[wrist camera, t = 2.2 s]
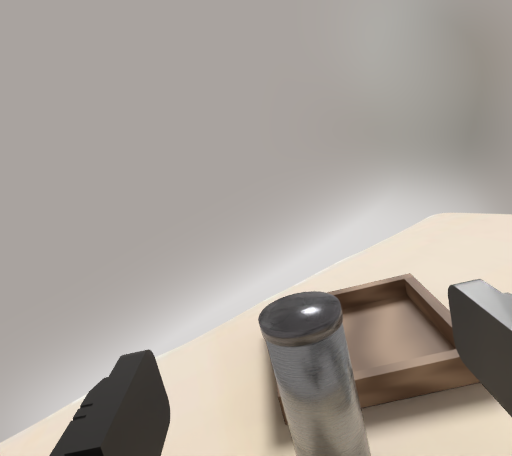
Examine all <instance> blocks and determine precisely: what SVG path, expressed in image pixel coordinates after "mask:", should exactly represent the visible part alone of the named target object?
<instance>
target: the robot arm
mask: <svg viewBox="0 0 512 456" xmlns="http://www.w3.org/2000/svg"><path fill="white" fill-rule="evenodd" d="M448 299H449V307H450V314H451V322H452V330H453V337H454V343H455V346H456V349H457V352H458V354H459V356H460V358H461V360H462V362H463V363H464V364H465V366H466V367H467V368H468V369H469V370H470V371H471V372H472V373H473V374H474V376H475V377H476V378H477V379H478V380H479V381H480V382H481V383H482V385H483V386H484V387H485V388H486V389H487V390H488V391H489V392H490V393H491V395H492V396H493V397H494V398H495V399H496V400H497V401H498V402H499V403H500V405H501V406H502V407H503V408H504V409H505V410H506V411H507V412H508V414H509V415H510V416H511V417H512V294H511V293H501V292H500V291H498V290H497V289H495V288H494V287H492V286H491V285H489V284H488V283H486V282H485V281H483V280H481V279H477V280H472V281H468V282H463V283H458V284H454V285H450V286H449V288H448ZM169 423H170V406H169V401H168V397H167V394H166V391H165V388H164V385H163V381H162V378H161V375H160V372H159V369H158V366H157V363H156V360H155V357H154V355H153V353H152V351H150V350H145V351H140V352H135V353H131V354H126V355H122V356H121V357H120V358H119V360H118V361H117V363H116V365H115V367H114V368H113V370H112V372H111V374H110V375H109V377H106V378H104V379H102V380H101V381H100V382H99V383H98V384H97V385H96V386H95V387H94V388H93V389H92V390H90V391H89V393H88V394H87V396H86V397H85V399H84V401H83V402H82V404H81V406H80V409H78V410H77V412H76V414H75V415H74V417H73V421H71V422H70V423H69V425H68V427H67V428H66V430H65V431H64V433H63V435H62V436H61V438H60V440H59V441H58V443H57V444H56V446H55V448H54V449H53V451H52V452H51V454H50V456H161V452H162V449H163V445H164V442H165V438H166V435H167V431H168V427H169Z"/></svg>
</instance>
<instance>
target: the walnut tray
mask: <svg viewBox="0 0 512 456" xmlns="http://www.w3.org/2000/svg"><path fill="white" fill-rule="evenodd" d="M328 293H329V294H331V295H334V296H335V297H337V298H338V300H339V301H340V304H341V309H342V314H343V322H342V323H343V327H344V332H345V337H346V341H347V346H348V351H349V355H350V360H351V365H352V369H353V374H354V379H355V383H356V388H357V393H358V397H359V402H360V407H361V408H364V407H368V406H373V405H378V404H382V403H387V402H391V401H396V400H401V399H405V398H410V397H414V396H419V395H424V394H428V393H433V392H437V391H442V390H447V389H451V388H456V387H460V386H465V385H470V384H474V383H479V382H480V381H479V380H478V379H477V378H476V377H475V376H474V374H473V373H472V372H471V371H470V370H469V369H468V368H467V367H466V366H465V364H464V363H463V362H462V360H461V358H460V356H459V354H458V352H457V349H456V346H455V343H454V337H453V330H452V322H451V314H450V311H449V310H448V309H447V308H446V307H445V306H444V305H443V304H442V303H441V302H440V301H438V300H437V299H436V298H435V297H434V296H433V295H432V294H431V293H430V292H429V291H428V290H427V289H426V288H425V287H424V286H423V285H422V284H421V283H420V282H419V281H417V280H416V279H415V278H414V277H413V276H412V275H411V274H405V275H401V276H397V277H392V278H388V279H384V280H379V281H375V282H371V283H366V284H362V285H358V286H354V287H349V288H345V289H341V290H336V291H332V292H328ZM277 390H278V398H279V402H280V406H281V409H282V413H283V417H284V421H285V424H288V422H287V418H286V415H285V411H284V407H283V403H282V400H281V396H280V392H279V388H278V385H277Z"/></svg>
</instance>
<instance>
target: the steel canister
mask: <svg viewBox="0 0 512 456" xmlns="http://www.w3.org/2000/svg"><path fill="white" fill-rule="evenodd" d="M258 320H259V324H260V328H261V332H262V335H263V337H264V339H265V340H266V344H267V347H268V351H269V355H270V358H271V362H272V366H273V370H274V373H275V377H276V381H277V385H278V388H279V392H280V396H281V400H282V403H283V407H284V411H285V415H286V418H287V422H288V426H289V429H290V433H291V437H292V441H293V444H294V448H295V452H296V456H371V453H370V449H369V444H368V439H367V435H366V430H365V425H364V421H363V416H362V411H361V407H360V402H359V397H358V393H357V388H356V383H355V379H354V374H353V369H352V365H351V360H350V355H349V351H348V346H347V341H346V337H345V332H344V327H343V323H342V322H343V314H342V309H341V304H340V301H339V300H338V298H337V297H335V296H334V295H331V294H329V293H324V292H302V293H296V294H292V295H289V296H286V297H283V298H280V299H278V300H276V301H274V302H272V303H271V304H269V305H268V306H267V307H265V308H264V309H263V310H262V312H261V313H260V315H259V319H258Z"/></svg>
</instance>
